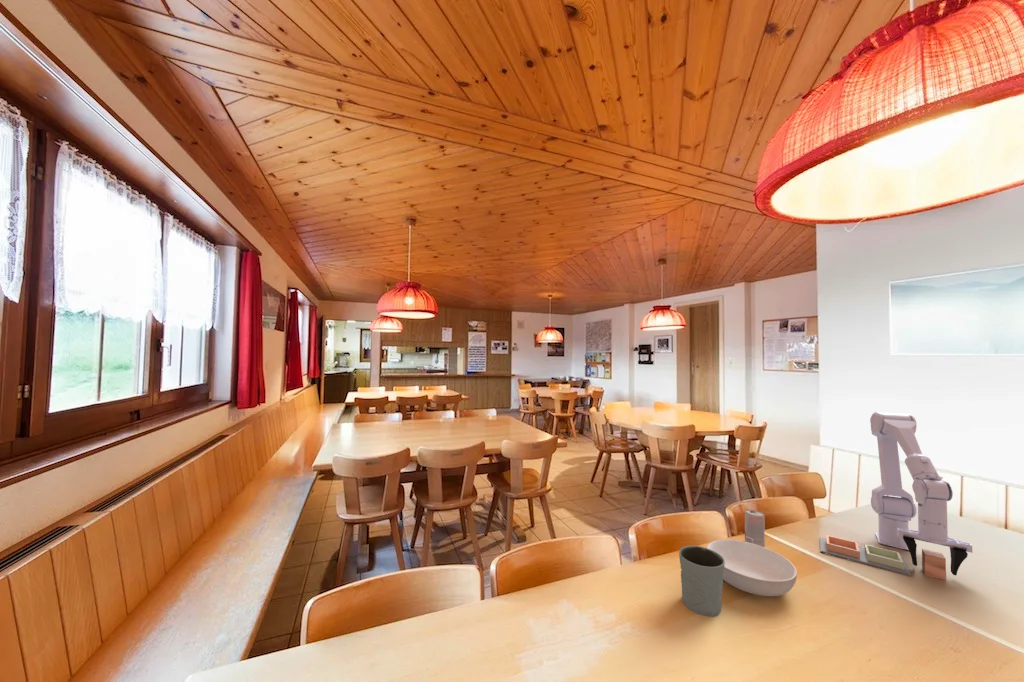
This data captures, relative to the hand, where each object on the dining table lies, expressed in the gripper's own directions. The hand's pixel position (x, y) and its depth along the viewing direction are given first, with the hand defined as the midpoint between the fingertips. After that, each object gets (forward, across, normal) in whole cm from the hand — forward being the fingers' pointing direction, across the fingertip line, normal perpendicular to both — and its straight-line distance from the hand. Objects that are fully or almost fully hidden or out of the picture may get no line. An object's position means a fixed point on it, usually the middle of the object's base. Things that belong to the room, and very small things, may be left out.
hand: (933, 568), depth 109 cm
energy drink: (+2, -42, -19) cm, 46 cm away
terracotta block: (+2, 0, 0) cm, 2 cm away
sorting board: (+2, -16, 0) cm, 16 cm away
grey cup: (+2, -49, -60) cm, 77 cm away
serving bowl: (+2, -41, -41) cm, 58 cm away
